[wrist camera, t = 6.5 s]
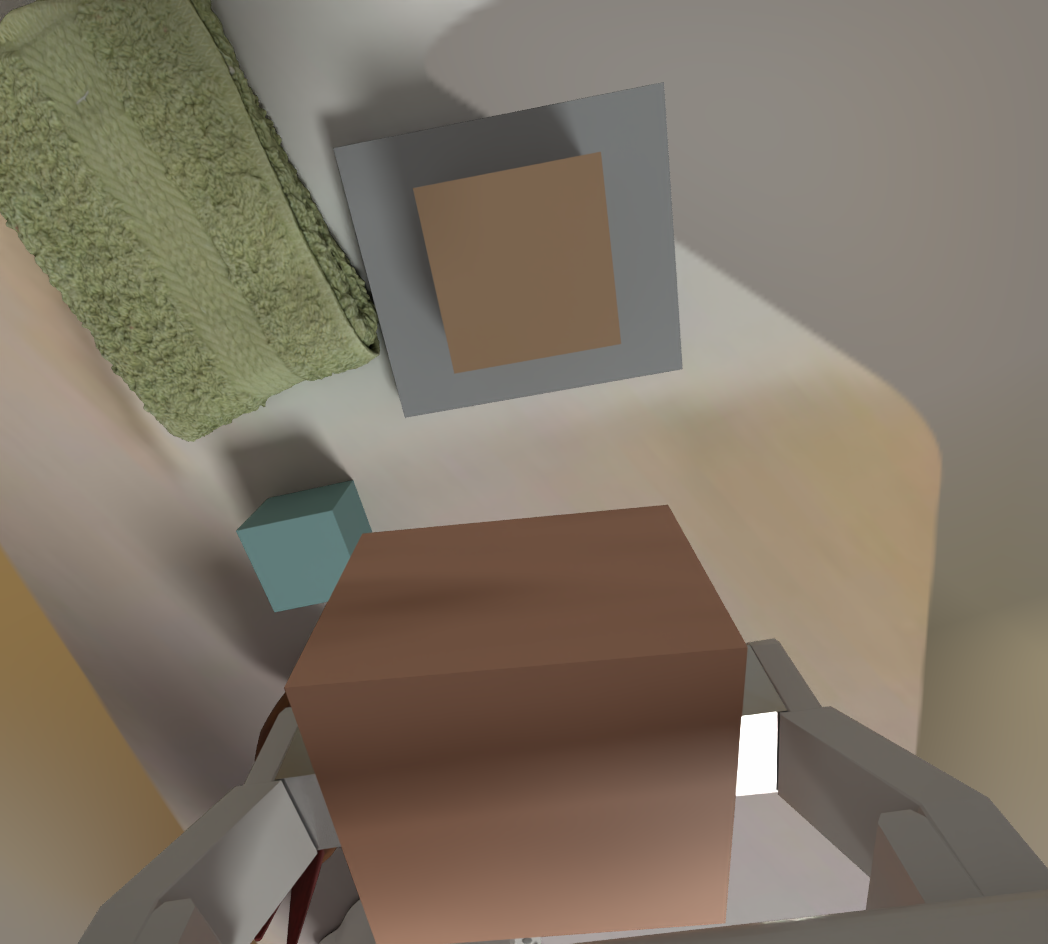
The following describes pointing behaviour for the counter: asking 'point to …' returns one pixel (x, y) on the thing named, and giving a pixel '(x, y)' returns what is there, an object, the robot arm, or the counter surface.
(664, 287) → the baseplate
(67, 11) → the washcloth
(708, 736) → the brick
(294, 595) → the brick
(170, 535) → the counter surface
